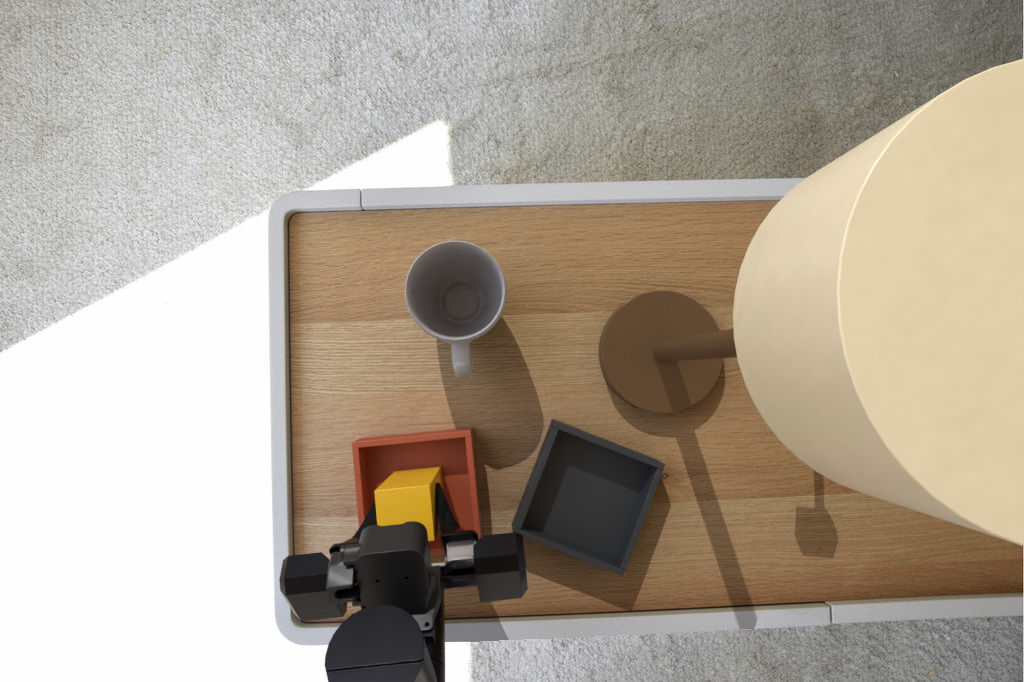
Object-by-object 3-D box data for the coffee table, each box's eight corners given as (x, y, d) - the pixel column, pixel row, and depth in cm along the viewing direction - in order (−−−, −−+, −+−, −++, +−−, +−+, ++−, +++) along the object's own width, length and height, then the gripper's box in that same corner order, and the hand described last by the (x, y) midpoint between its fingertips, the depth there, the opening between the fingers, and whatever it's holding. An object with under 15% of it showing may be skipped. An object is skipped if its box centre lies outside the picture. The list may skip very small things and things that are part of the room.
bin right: (616, 565, 65) (623, 576, 61) (511, 524, 65) (512, 533, 61) (656, 459, 66) (665, 464, 62) (552, 418, 65) (555, 421, 62)
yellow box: (445, 512, 64) (434, 540, 53) (399, 516, 64) (379, 546, 53) (441, 466, 64) (429, 485, 53) (395, 470, 64) (374, 490, 53)
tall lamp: (715, 432, 66) (1303, 596, 18) (578, 408, 66) (802, 509, 18) (736, 296, 67) (1359, 101, 19) (601, 272, 66) (877, 11, 18)
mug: (414, 261, 66) (400, 242, 56) (502, 255, 66) (503, 236, 56) (422, 380, 65) (409, 382, 56) (510, 374, 66) (512, 375, 56)
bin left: (482, 540, 65) (482, 550, 61) (369, 552, 64) (361, 563, 61) (472, 427, 65) (470, 430, 62) (359, 438, 65) (351, 442, 61)
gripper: (532, 603, 41) (511, 417, 53) (234, 635, 41) (279, 440, 52) (536, 673, 49) (517, 497, 60) (285, 701, 48) (314, 518, 60)
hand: (411, 488), depth 58 cm, fingers closed on yellow box, 4 cm apart
